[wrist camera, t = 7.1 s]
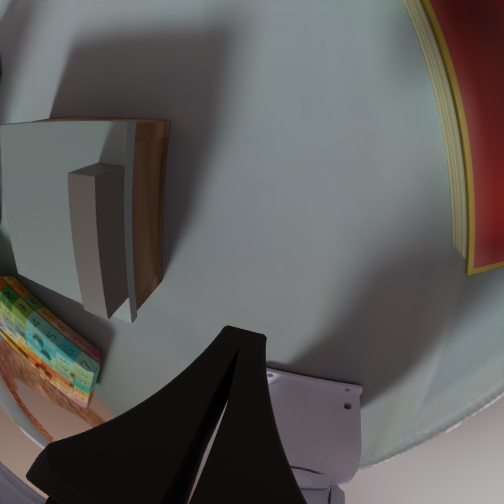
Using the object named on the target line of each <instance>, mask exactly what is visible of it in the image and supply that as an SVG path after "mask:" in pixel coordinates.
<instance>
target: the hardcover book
mask: <svg viewBox="0 0 504 504" xmlns="http://www.w3.org/2000/svg"><path fill="white" fill-rule="evenodd" d="M403 2H404V4H405V6H406V9H407V11H408V13H409V16H410V18H411V21H412V23H413V26H414V29H415V31H416V34H417V37H418V39H419V42H420V45H421V48H422V51H423V54H424V57H425V60H426V64H427V67H428V70H429V74H430V77H431V81H432V85H433V89H434V93H435V97H436V101H437V105H438V110H439V115H440V120H441V125H442V130H443V136H444V142H445V148H446V155H447V163H448V171H449V181H450V192H451V207H452V244H453V245H454V246H455V248H456V249H457V250H458V251H459V252H460V253H461V255H462V256H463V257H464V258H465V259H466V268H465V273H466V274H467V276H469V275H473V274H477V273H481V272H485V271H489V270H493V269H496V268H500V267H504V0H403Z"/></svg>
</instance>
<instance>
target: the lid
mask: <svg viewBox="0 0 504 504" xmlns="http://www.w3.org/2000/svg"><path fill="white" fill-rule="evenodd" d="M135 132H136V121H122V120H54V121H35V122H22V123H11V124H5V125H1V126H0V145H1V169H2V182H3V192H4V201H5V209H6V216H7V222H8V228H9V233H10V239H11V244H12V249H13V253H14V258H15V262H16V266H17V270H18V274H20V275H22V276H24V277H26V278H28V279H30V280H32V281H34V282H36V283H38V284H40V285H42V286H44V287H46V288H49V289H51V290H53V291H55V292H57V293H59V294H61V295H64V296H66V297H68V298H70V299H73V300H75V301H77V302H79V303H82V304H83V306H84V310H85V311H88V312H90V313H92V314H95V315H97V316H100V317H102V318H104V319H107V320H109V318H110V317H111V316H113V317H116V318H119V319H121V320H124V321H126V322H129V323H132V322H133V321H134V320H135V319H136V317H137V308H136V296H135V282H134V265H133V238H132V189H133V162H134V145H135Z"/></svg>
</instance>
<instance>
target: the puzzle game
mask: <svg viewBox="0 0 504 504" xmlns="http://www.w3.org/2000/svg"><path fill="white" fill-rule="evenodd" d="M0 334H1V335H2V336H3V337H4V338H5V339H6V340H7V341H8V342H9V344H10V345H11V346H12V347H13V348H14V349H15V350H16V351H17V352H18V353H19V354H20V355H21V356H22V357H23V358H24V359H25V360H26V361H28V362H29V363H30V364H31V365H32V366H33V367H34V368H35V369H36V370H37V371H38V372H39V373H40V376H41V377H42V378H43V379H47V380H49V381H50V382H51V383H52V384H53V385H54V386H56V387H57V388H58V389H59V390H60V391H62V392H63V393H64V394H65V395H67V396H68V397H69V398H71V399H72V400H73V401H74V402H76V403H77V404H78V405H80V406H81V407H84V408H88V406H89V405H90V403H91V401H92V396H93V392H94V388H95V384H96V380H97V377H98V373H99V369H100V354H101V351H99V350H98V349H97V348H95V347H94V346H93V345H91V344H90V343H89V342H87V341H86V340H85V339H83V338H82V337H81V336H80V335H78V334H77V333H76V332H75V331H73V330H72V329H71V328H70V327H68V326H67V325H66V324H65V323H64V322H62V321H61V320H60V319H59V318H58V317H56V316H55V315H54V314H53V313H52V312H51V311H50V310H48V309H47V308H46V307H45V306H44V305H43V304H42V303H41V302H40V301H38V300H37V299H36V298H35V297H34V296H33V295H32V294H31V293H30V292H29V291H28V290H27V289H26V288H25V287H24V286H23V285H22V284H21V283H20V282H19V281H18V280H17V279H16V278H14V277H12V276H4V277H2V276H1V275H0Z"/></svg>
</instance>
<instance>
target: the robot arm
mask: <svg viewBox="0 0 504 504" xmlns="http://www.w3.org/2000/svg"><path fill="white" fill-rule="evenodd" d="M266 340H267V338H266V336H265V335H264V334H260V333H256V332H252V331H248V330H244V329H240V328H236V327H232V326H229V325H227V326H225V327H224V328H223V329H222V331H221V332H220V333H219V335H218V336H217V337H216V338H215V339H214V341H213V342H212V343H211V344H210V345H209V346H208V347H207V348H206V349H205V351H204V352H203V353H202V354H201V355H200V356H199V357H198V358H197V359H195V360H194V361H193V362H192V363H191V364H190V365H189V366H188V367H187V368H186V369H185V370H184V371H183V372H181V373H180V374H179V375H178V376H177V377H176V378H174V379H173V380H172V381H171V382H170V383H168V384H167V385H166V386H164V387H163V388H162V389H161V390H159V391H158V392H156V393H155V394H154V395H152V396H151V397H149V398H148V399H146V400H145V401H143V402H142V403H140V404H138V405H137V406H135V407H133V408H132V409H130V410H128V411H127V412H125V413H123V414H121V415H120V416H118V417H116V418H114V419H112V420H110V421H107V422H105V423H103V424H101V425H99V426H97V427H94V428H92V429H90V430H87V431H86V432H82V433H80V434H77V435H74V436H71V437H68V438H65V439H62V440H59V441H55V442H52V443H49V444H48V445H47V446H46V448H45V449H44V450H43V451H42V452H41V453H40V454H39V455H38V457H37V458H36V460H35V462H34V463H33V465H32V466H31V468H30V469H29V471H28V472H27V474H26V478H27V480H29V481H30V482H31V483H32V484H33V485H35V486H36V487H37V488H39V489H40V490H41V491H43V492H44V493H45V494H47V495H48V496H49V497H48V499H46V498H44V497H43V496H41V495H40V494H39V493H37V492H36V491H35V490H33V489H32V488H31V487H29V486H28V485H27V484H26V483H24V482H23V481H22V480H21V479H20V478H18V477H17V476H16V475H15V474H14V473H12V472H11V471H10V470H9V469H8V468H7V467H6V466H5V465H3V464H2V463H1V462H0V504H187V503H188V500H189V497H190V494H191V491H192V488H193V485H194V482H195V479H196V476H197V473H198V470H199V467H200V464H201V461H202V458H203V455H204V453H205V450H206V448H207V446H208V443H209V441H210V439H211V437H212V434H213V432H214V430H215V428H216V426H217V423H218V421H219V419H220V417H221V414H222V412H223V410H224V408H225V405H226V403H227V406H226V409H225V412H224V415H223V418H222V420H221V423H220V426H219V429H218V431H217V434H216V437H215V439H214V442H213V445H212V447H211V450H210V453H209V455H208V458H207V461H206V463H205V466H204V468H203V471H202V473H201V476H200V478H199V481H198V483H197V486H196V488H195V491H194V493H193V495H192V498H191V500H190V502H189V504H345V494H344V492H343V491H342V490H341V489H340V488H341V487H344V486H346V485H347V484H348V483H349V482H350V481H351V480H352V478H353V476H354V475H355V473H356V470H357V467H358V464H359V460H360V455H361V414H360V395H361V393H362V391H363V388H362V386H360V385H353V384H347V383H341V382H335V381H329V380H323V379H318V378H312V377H307V376H302V375H297V374H292V373H288V372H283V371H279V370H274V369H270V368H266ZM347 388H348V389H347ZM227 401H228V402H227ZM329 488H330V491H329ZM328 495H329V496H328Z"/></svg>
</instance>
